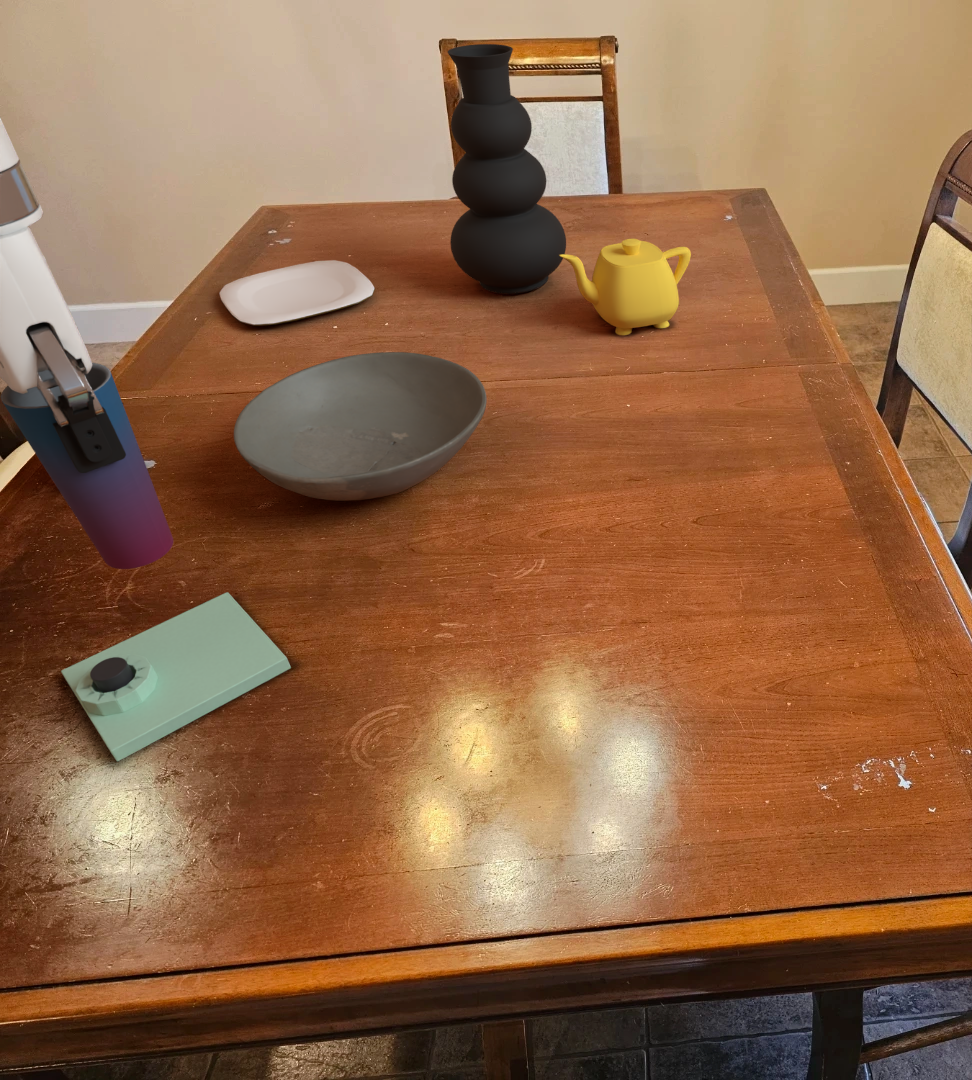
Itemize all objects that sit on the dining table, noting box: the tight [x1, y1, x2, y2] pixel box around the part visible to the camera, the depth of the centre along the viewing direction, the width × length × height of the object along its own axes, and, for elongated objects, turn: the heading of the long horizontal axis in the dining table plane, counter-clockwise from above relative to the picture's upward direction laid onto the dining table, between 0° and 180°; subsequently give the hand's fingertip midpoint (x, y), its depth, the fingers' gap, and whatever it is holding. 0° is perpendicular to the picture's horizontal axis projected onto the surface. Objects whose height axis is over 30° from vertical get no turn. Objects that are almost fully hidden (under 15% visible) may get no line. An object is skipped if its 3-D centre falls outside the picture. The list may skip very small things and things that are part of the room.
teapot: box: [559, 238, 692, 336], centre depth 139 cm, size 13×20×12 cm
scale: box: [60, 591, 292, 763], centre depth 83 cm, size 15×13×3 cm
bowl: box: [233, 351, 488, 502], centre depth 108 cm, size 27×28×8 cm
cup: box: [0, 362, 174, 570], centre depth 70 cm, size 7×7×15 cm
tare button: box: [90, 657, 133, 693], centre depth 80 cm, size 3×3×2 cm
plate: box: [219, 259, 376, 327], centre depth 149 cm, size 22×22×2 cm
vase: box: [447, 43, 567, 295], centre depth 144 cm, size 18×18×35 cm
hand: (86, 444), depth 68 cm, fingers closed on cup, 6 cm apart
